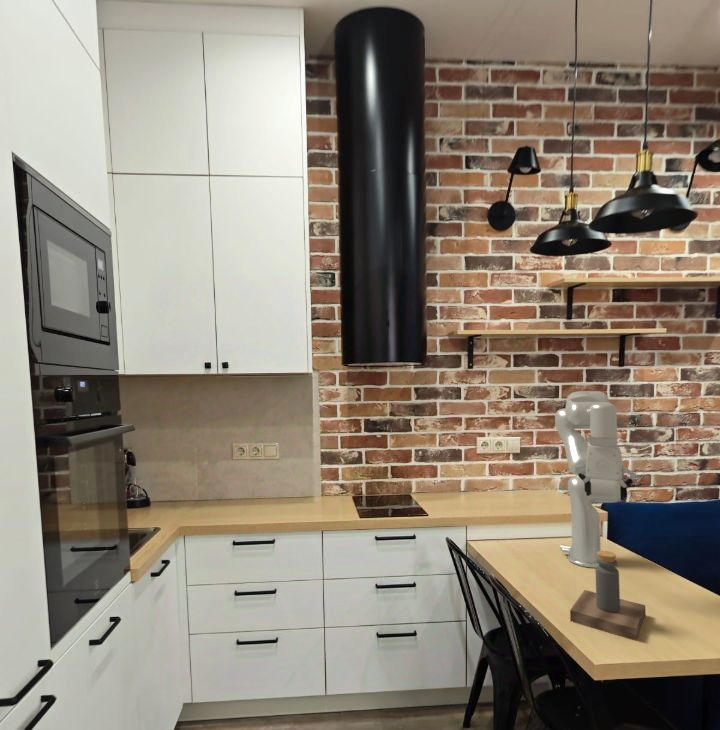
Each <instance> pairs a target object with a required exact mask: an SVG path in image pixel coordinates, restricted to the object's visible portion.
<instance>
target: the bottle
mask: <svg viewBox="0 0 720 730" xmlns="http://www.w3.org/2000/svg"><path fill="white" fill-rule="evenodd" d="M597 554H598V558H597V563H598V564H599V565H598V566H597V567H596V568H595V593H596V602H597V607H598V608H600V609H602V610H604V611H608V612H618V611H619V610H620V599H621V597H620V596H621V594H620V572H619V571H620V570H619V569H617V568H616V567H617V566H618V561H617V559H616V557H617V554H616V553H614V552H612V551H608V550H601V551H598V552H597Z"/></svg>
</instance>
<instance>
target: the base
mask: <svg viewBox="0 0 720 730" xmlns="http://www.w3.org/2000/svg"><path fill="white" fill-rule="evenodd" d="M646 613H647V612H646V605H645V604H641V603H637V602H634V601H629V600H625V599H622V598H620V610H619V611H618V612H608V611H604V610H602V609H600V608H598V607H597V602H596V591H595V592H594V591H589V590H586V589H584V590H583V591H582V593H581V594H580V595H579V597H578V599H577V600H576V601H575V603H574V604H573V605H572V607H571V608H570V609H569V617H570V618H569V619H570V621H569V622H572V621H573V622H572V623H576V624H578V623H579V625H582V626H585V627H588V628H593V629H595V630H599V631H603V632H606V633H609V634H613V635H616V636H619V637H623V638H626V639H629V640H633V641H635V642H636V641H637V640H638V638H639V635H640V632H641V630H642V626H643V624H644V623H645V619H646V616H647V615H646Z"/></svg>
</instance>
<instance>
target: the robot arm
mask: <svg viewBox="0 0 720 730" xmlns="http://www.w3.org/2000/svg"><path fill="white" fill-rule="evenodd" d="M617 415H618V414H617V406H616V405H615V404H613V403H611V402H610V400H609V397H608V394H606V393H605V392H603V391H599V390H584V391H583V390H580V391H579V390H578V391H573V392H571V393H570V394H569V395H568V396H567V397H566V404H565V408H560V409H558V410H557V411H556V412H555V414H554V421H555V422H554V423H555V428H556V430H557V433H558V435H559V437H560V439H561V441H562V444H563V445H564V451H565V456H566V460H567V461H566V462H567V467H568V469H569V471H570V473H571V474H573V476H571V477H569V478H568V481H567V491H568V495H569V501H570V512H571V513H570V516H571V517H570V519H571V520H570V521H571V545H569V546H568V545H565V544H560V550H561V551H562V553H568V555H567V560H568V561H569V562H571V563H573V564H575V565H577V566H580V567H585V568H595V569H596V567H597V566H598V565H599V564H598V563H597V558H598V554H597V552H598V551H602V550H601V549H602V548H601V547H602V546H601V521H600V513H599V511H598V509H597V508H596V507H595V506H594V505H593V504H592V503H606V504H607V503H610V504H611V503H613V504H614V503H618V502H619V501H624V500H625V499H626V498H627V497H628V486H630V484H632V483H633V482H634V481H635V478H636V477H637V472H635V471H633V470H631V469H629V468H627V467H625V466H624V464H623V457H622V456H623V455H622V450H621V448H620V447H619V446H618V419H617ZM577 429H578V430H589V431H590V436H589V437H584V436H583V435H582V434H581V433H580V432H578V431H577ZM588 443H589V444H588ZM624 474H627V475H628V476H629V477H628V478H627V480H625V479H624Z"/></svg>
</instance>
